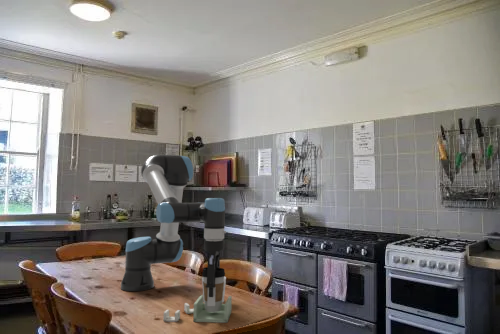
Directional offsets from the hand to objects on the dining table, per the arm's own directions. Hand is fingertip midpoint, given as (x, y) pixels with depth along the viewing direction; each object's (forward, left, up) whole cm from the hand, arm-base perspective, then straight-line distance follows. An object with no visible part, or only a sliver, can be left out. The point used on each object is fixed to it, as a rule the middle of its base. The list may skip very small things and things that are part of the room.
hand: (213, 302), depth 140 cm
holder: (0, 0, -5) cm, 5 cm away
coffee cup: (0, 0, -3) cm, 3 cm away
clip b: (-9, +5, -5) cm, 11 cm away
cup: (-3, +19, -5) cm, 20 cm away
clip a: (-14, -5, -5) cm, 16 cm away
